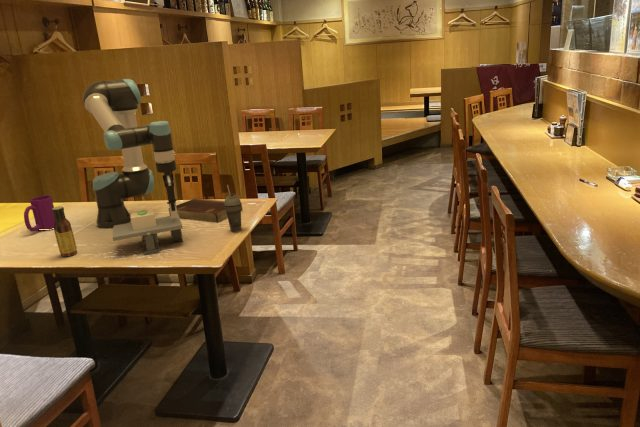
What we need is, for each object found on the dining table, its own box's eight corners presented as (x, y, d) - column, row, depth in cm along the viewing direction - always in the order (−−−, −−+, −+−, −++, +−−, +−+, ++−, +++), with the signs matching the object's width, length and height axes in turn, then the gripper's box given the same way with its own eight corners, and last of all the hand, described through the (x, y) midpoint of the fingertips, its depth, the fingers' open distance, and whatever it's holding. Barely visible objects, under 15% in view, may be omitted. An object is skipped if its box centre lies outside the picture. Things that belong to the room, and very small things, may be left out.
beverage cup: (241, 233, 214) (235, 186, 208) (224, 233, 216) (218, 187, 210) (246, 227, 221) (241, 182, 215) (231, 227, 222) (225, 182, 216)
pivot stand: (144, 255, 197) (140, 238, 195) (142, 238, 217) (139, 222, 215) (184, 247, 202) (182, 231, 200) (179, 231, 222) (177, 216, 220)
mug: (63, 225, 244) (56, 195, 240) (37, 236, 230) (29, 205, 226) (48, 224, 247) (40, 195, 242) (21, 236, 233) (13, 204, 228)
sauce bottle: (64, 252, 207) (53, 205, 201) (80, 250, 208) (69, 204, 202) (57, 258, 201) (46, 210, 195) (74, 257, 201) (62, 208, 195)
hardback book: (242, 211, 246) (241, 201, 245) (217, 223, 230) (216, 213, 229) (196, 207, 260) (195, 197, 258) (170, 218, 244) (168, 208, 242)
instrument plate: (113, 243, 195) (109, 223, 193) (114, 230, 210) (110, 212, 207) (183, 230, 203) (179, 211, 200) (179, 219, 218) (176, 201, 215)
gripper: (176, 162, 197) (185, 220, 204) (173, 157, 209) (182, 212, 216) (156, 165, 194) (166, 223, 202) (154, 159, 206) (164, 214, 213)
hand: (174, 217), depth 209 cm, fingers closed
